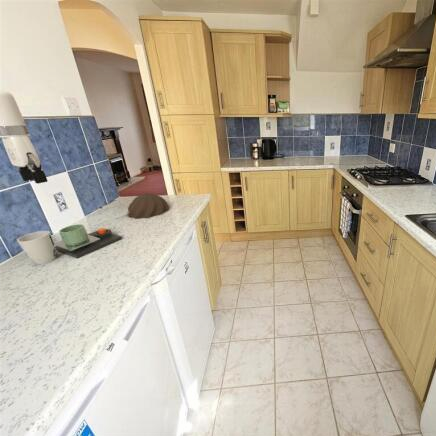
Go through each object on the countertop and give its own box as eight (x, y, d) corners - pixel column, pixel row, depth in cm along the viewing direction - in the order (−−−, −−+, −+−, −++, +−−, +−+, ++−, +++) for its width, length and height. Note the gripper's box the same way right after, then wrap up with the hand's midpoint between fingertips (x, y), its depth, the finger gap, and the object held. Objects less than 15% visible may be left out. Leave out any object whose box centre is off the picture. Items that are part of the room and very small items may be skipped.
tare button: (96, 233, 101) (95, 230, 100) (104, 230, 103) (103, 227, 103) (100, 235, 100) (99, 231, 99) (108, 232, 102) (107, 228, 101)
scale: (56, 249, 95) (52, 243, 94) (101, 232, 108) (99, 226, 107) (77, 258, 88) (74, 251, 87) (123, 239, 102) (121, 232, 100)
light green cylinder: (82, 235, 98) (77, 223, 96) (92, 238, 95) (87, 226, 93) (61, 243, 92) (55, 230, 90) (71, 247, 89) (65, 234, 87)
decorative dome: (138, 206, 138) (133, 189, 134) (174, 204, 140) (170, 187, 136) (120, 219, 121) (113, 201, 117) (161, 217, 122) (156, 198, 118)
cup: (64, 257, 89) (53, 233, 85) (35, 269, 83) (21, 243, 79) (56, 252, 93) (44, 228, 89) (27, 262, 87) (13, 238, 83)
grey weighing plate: (53, 244, 92) (53, 244, 92) (83, 233, 101) (83, 233, 100) (70, 251, 87) (69, 250, 87) (100, 239, 96) (99, 238, 95)
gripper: (-13, 132, 82) (11, 181, 89) (8, 133, 75) (33, 186, 82) (17, 131, 89) (38, 177, 95) (39, 131, 81) (60, 181, 88)
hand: (35, 181), depth 89 cm, fingers open, 9 cm apart
